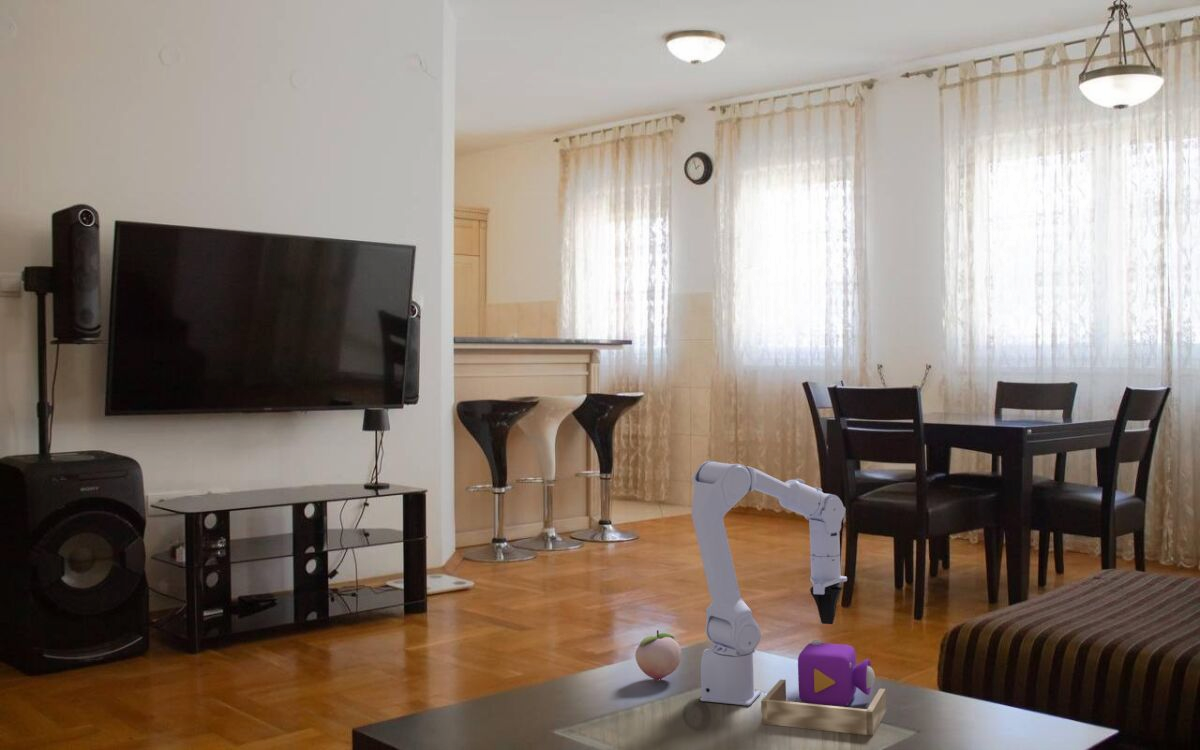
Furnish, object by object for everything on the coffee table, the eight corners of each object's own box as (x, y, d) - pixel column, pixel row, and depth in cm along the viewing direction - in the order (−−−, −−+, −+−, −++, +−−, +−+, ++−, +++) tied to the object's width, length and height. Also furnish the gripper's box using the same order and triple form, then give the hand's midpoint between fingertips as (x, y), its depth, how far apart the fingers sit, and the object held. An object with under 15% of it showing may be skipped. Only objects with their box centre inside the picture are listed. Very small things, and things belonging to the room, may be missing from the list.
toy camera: (876, 710, 198) (875, 654, 198) (798, 708, 201) (796, 653, 201) (874, 691, 209) (872, 638, 208) (800, 689, 211) (798, 637, 211)
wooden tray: (761, 723, 193) (761, 700, 193) (780, 701, 205) (780, 679, 205) (872, 735, 185) (872, 711, 185) (886, 711, 197) (885, 688, 197)
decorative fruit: (663, 690, 213) (661, 638, 213) (629, 683, 219) (628, 633, 218) (691, 678, 221) (689, 628, 221) (657, 671, 226) (656, 622, 226)
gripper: (838, 562, 210) (840, 633, 210) (852, 548, 223) (854, 615, 224) (801, 560, 213) (803, 631, 213) (817, 546, 226) (819, 613, 226)
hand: (827, 623), depth 219 cm, fingers closed
